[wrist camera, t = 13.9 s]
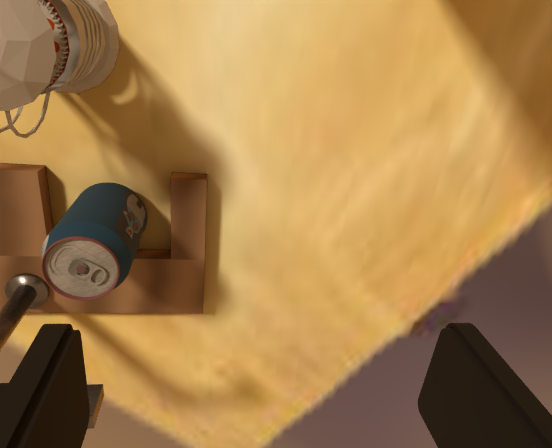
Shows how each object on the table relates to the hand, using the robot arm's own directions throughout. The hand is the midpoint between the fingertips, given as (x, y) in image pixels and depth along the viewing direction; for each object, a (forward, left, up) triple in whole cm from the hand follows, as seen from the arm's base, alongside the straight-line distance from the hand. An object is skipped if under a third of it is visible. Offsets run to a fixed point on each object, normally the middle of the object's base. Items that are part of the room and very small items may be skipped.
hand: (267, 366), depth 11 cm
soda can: (+11, +10, -34) cm, 37 cm away
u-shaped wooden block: (+13, +14, -33) cm, 38 cm away
